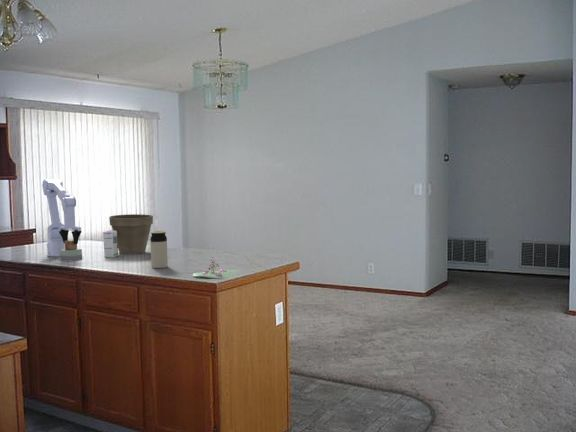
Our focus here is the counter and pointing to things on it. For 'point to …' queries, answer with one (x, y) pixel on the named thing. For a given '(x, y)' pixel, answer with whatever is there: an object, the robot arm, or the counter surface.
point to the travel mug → (159, 249)
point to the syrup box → (110, 243)
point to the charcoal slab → (71, 257)
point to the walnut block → (70, 245)
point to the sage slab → (70, 252)
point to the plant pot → (131, 232)
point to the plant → (215, 273)
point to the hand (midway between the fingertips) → (70, 243)
